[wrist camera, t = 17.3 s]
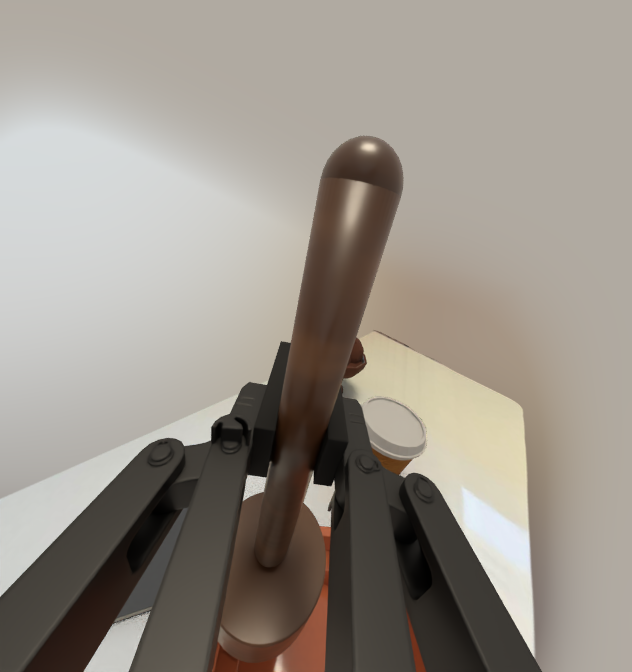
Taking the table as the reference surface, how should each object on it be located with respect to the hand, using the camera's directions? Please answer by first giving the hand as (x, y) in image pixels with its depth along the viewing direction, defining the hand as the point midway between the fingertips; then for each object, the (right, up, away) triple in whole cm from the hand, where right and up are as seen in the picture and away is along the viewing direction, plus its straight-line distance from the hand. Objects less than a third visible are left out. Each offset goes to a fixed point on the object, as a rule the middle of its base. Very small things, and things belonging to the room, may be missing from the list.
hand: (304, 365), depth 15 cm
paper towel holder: (-3, -14, +1) cm, 14 cm away
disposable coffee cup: (+9, -20, +21) cm, 30 cm away
